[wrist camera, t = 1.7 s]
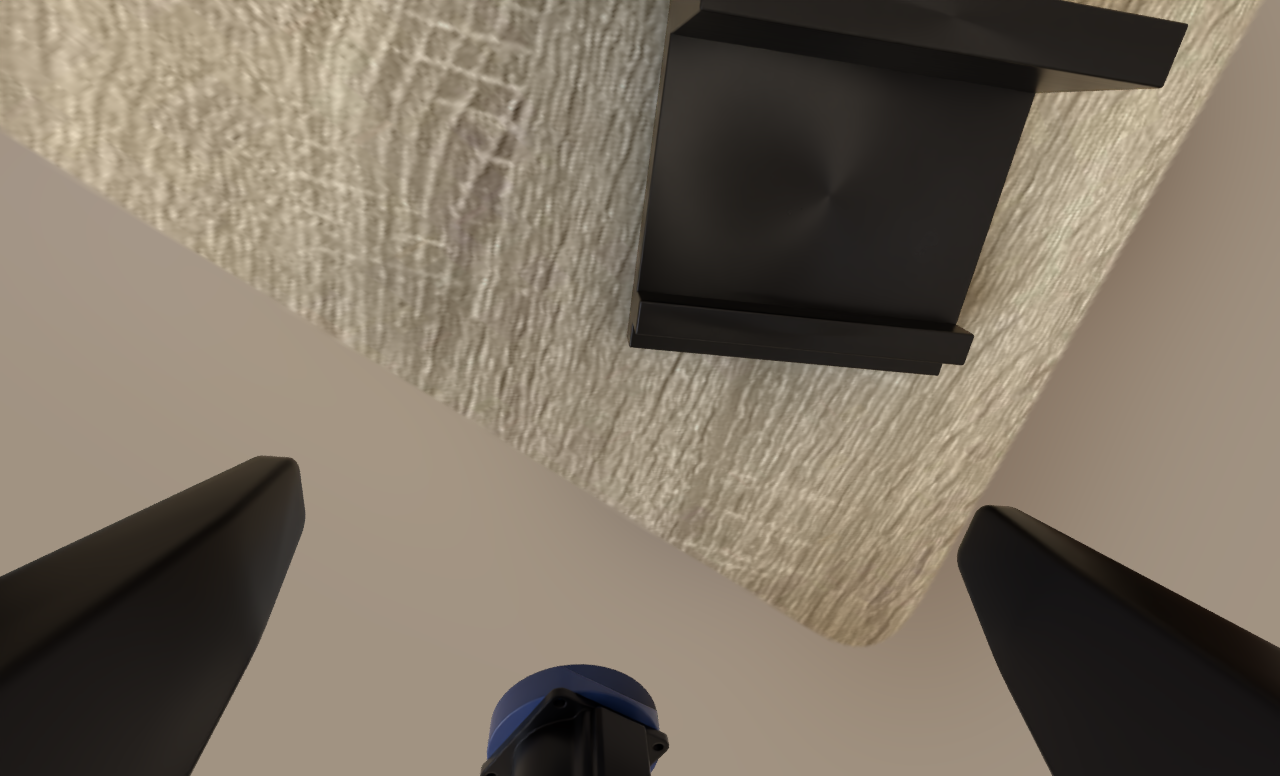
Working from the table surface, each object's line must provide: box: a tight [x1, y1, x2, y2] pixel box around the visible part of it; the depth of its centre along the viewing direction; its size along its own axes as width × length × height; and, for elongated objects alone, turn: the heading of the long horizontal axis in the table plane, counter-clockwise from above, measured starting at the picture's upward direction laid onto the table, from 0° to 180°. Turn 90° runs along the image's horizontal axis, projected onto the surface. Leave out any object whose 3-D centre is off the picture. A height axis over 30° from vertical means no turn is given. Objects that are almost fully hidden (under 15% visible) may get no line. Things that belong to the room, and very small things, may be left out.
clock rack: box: [627, 0, 1188, 376], centre depth 16 cm, size 10×10×5 cm
